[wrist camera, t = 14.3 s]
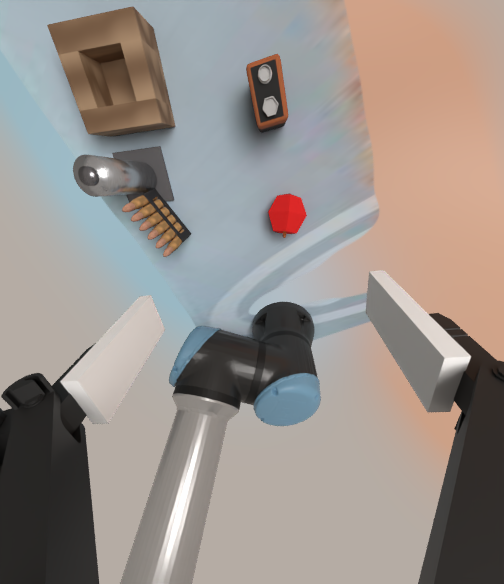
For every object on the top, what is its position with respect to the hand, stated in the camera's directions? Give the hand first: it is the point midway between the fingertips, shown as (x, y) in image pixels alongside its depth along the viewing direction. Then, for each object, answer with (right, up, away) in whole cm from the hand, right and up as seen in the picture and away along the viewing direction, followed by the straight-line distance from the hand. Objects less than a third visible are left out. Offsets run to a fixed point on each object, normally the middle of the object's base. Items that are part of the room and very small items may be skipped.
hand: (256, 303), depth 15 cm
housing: (-20, +34, +24) cm, 46 cm away
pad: (-21, +22, +31) cm, 43 cm away
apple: (+6, +16, +32) cm, 37 cm away
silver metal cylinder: (-21, +22, +30) cm, 43 cm away
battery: (+2, +31, +24) cm, 39 cm away
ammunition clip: (-17, +16, +34) cm, 41 cm away
